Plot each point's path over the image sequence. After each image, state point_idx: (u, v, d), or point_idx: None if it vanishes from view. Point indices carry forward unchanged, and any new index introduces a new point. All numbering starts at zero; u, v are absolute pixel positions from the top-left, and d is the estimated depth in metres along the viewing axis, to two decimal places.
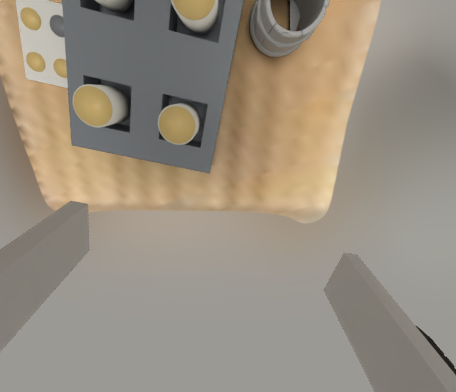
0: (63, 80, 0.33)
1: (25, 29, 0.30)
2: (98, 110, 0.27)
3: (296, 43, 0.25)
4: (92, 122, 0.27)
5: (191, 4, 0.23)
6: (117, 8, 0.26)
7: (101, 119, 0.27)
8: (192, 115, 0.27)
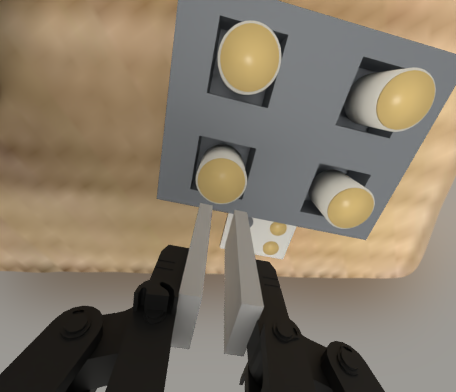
0: (288, 230, 0.33)
1: None
2: (357, 203, 0.22)
3: None
4: (367, 213, 0.22)
5: (262, 63, 0.17)
6: None
7: (366, 202, 0.22)
8: (398, 74, 0.17)
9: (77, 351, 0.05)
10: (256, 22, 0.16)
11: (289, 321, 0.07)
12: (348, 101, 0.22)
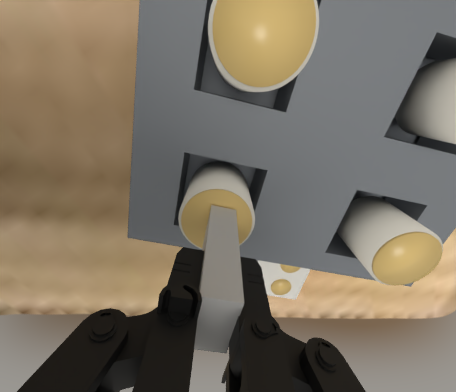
0: None
1: None
2: (417, 253, 0.15)
3: None
4: (430, 266, 0.15)
5: (285, 36, 0.10)
6: None
7: (432, 252, 0.15)
8: None
9: (104, 354, 0.05)
10: None
11: (268, 317, 0.07)
12: (404, 102, 0.15)
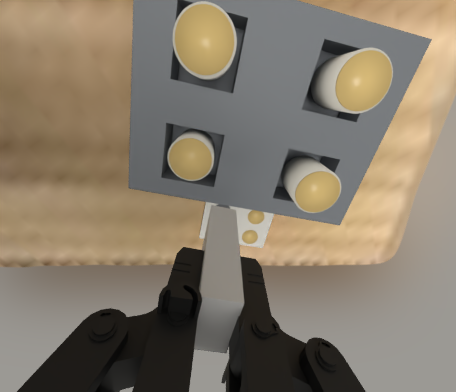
0: (266, 218, 0.33)
1: None
2: (323, 187, 0.22)
3: None
4: (334, 196, 0.22)
5: (217, 45, 0.17)
6: (214, 146, 0.27)
7: (333, 186, 0.22)
8: (354, 54, 0.17)
9: (104, 355, 0.05)
10: (208, 3, 0.16)
11: (268, 317, 0.07)
12: (313, 85, 0.22)
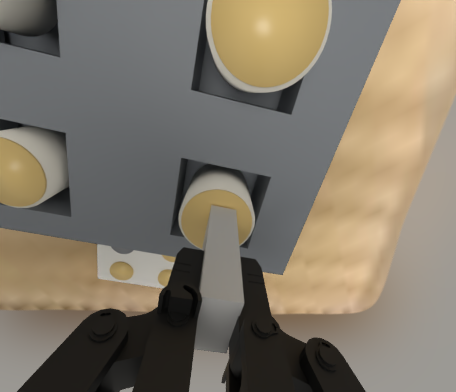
0: None
1: (134, 279, 0.24)
2: None
3: None
4: (245, 229, 0.14)
5: None
6: None
7: (240, 213, 0.14)
8: None
9: (104, 355, 0.05)
10: None
11: (268, 317, 0.07)
12: None
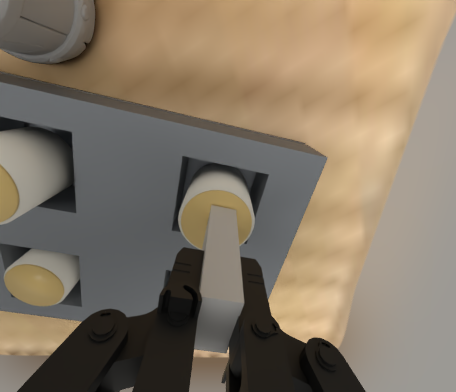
0: None
1: None
2: None
3: None
4: None
5: None
6: None
7: None
8: (196, 194, 0.13)
9: (104, 355, 0.05)
10: None
11: (268, 317, 0.07)
12: None
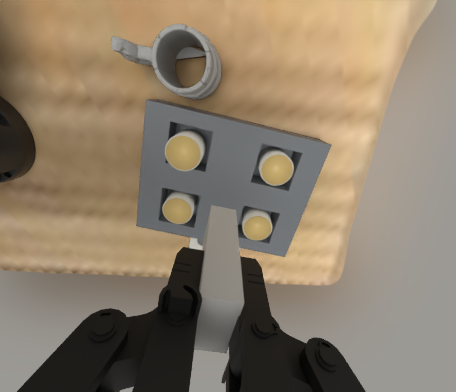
0: None
1: None
2: (260, 225, 0.36)
3: (213, 53, 0.26)
4: (268, 231, 0.36)
5: (190, 155, 0.29)
6: (196, 198, 0.38)
7: (266, 225, 0.36)
8: (269, 156, 0.31)
9: (104, 354, 0.05)
10: (185, 135, 0.28)
11: (269, 317, 0.07)
12: (257, 162, 0.36)
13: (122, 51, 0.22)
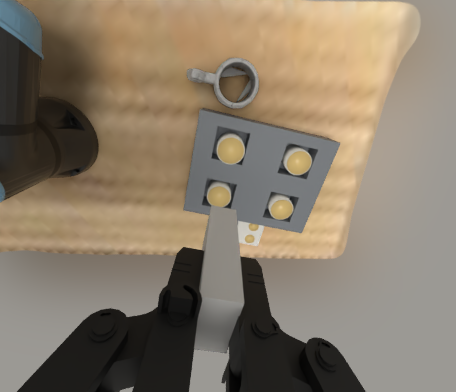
0: (259, 228, 0.54)
1: None
2: (284, 207, 0.45)
3: None
4: (290, 211, 0.46)
5: (236, 152, 0.38)
6: (230, 187, 0.48)
7: (289, 206, 0.45)
8: (294, 152, 0.41)
9: (105, 354, 0.05)
10: (233, 137, 0.37)
11: (268, 317, 0.07)
12: None
13: (197, 77, 0.31)
